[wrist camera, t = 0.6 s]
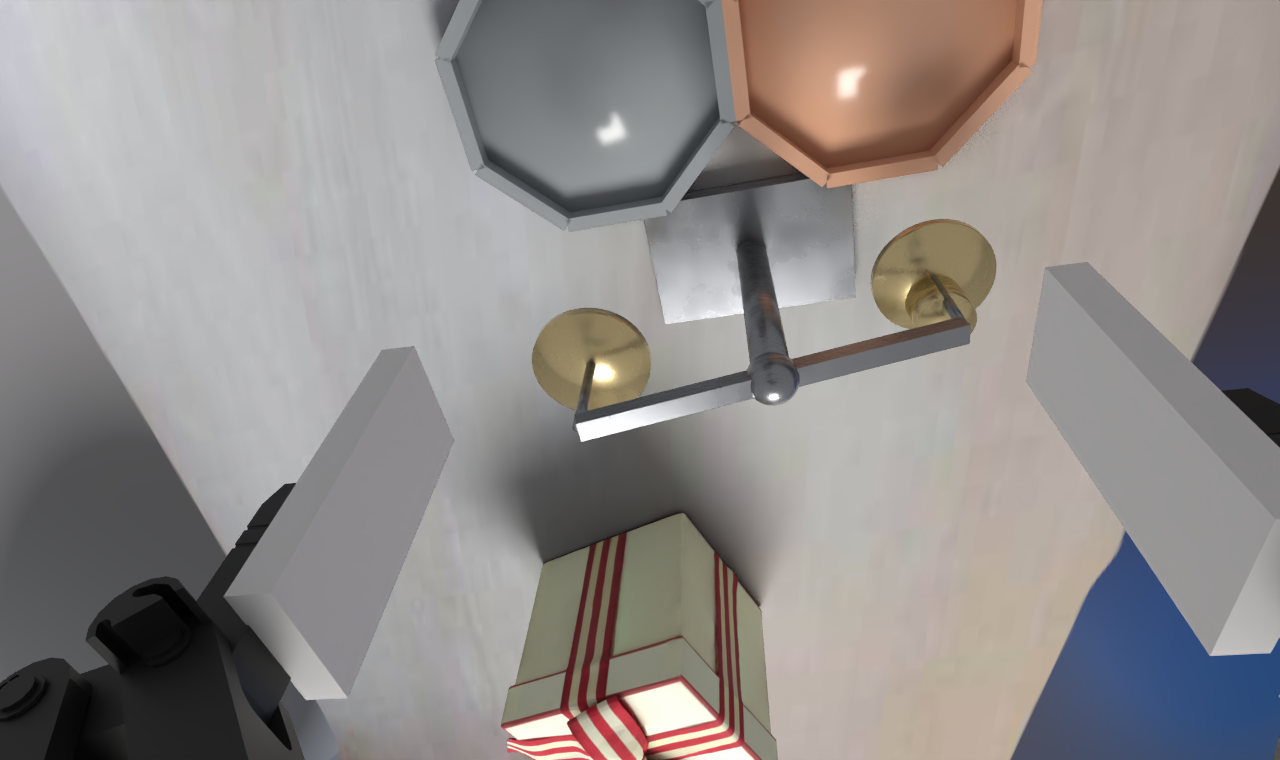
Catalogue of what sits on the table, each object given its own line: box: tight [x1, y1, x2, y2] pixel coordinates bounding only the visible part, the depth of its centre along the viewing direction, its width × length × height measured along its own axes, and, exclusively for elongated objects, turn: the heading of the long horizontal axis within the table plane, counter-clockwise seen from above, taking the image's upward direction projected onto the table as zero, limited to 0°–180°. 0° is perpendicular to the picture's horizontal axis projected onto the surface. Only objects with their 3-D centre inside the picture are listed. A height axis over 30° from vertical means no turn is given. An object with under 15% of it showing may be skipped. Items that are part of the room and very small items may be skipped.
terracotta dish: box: [721, 0, 1043, 188], centre depth 36 cm, size 15×15×2 cm
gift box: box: [501, 513, 778, 760], centre depth 56 cm, size 17×18×17 cm
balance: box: [532, 173, 996, 442], centre depth 37 cm, size 8×24×17 cm, turn 101°
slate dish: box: [435, 0, 736, 232], centre depth 38 cm, size 15×15×2 cm
